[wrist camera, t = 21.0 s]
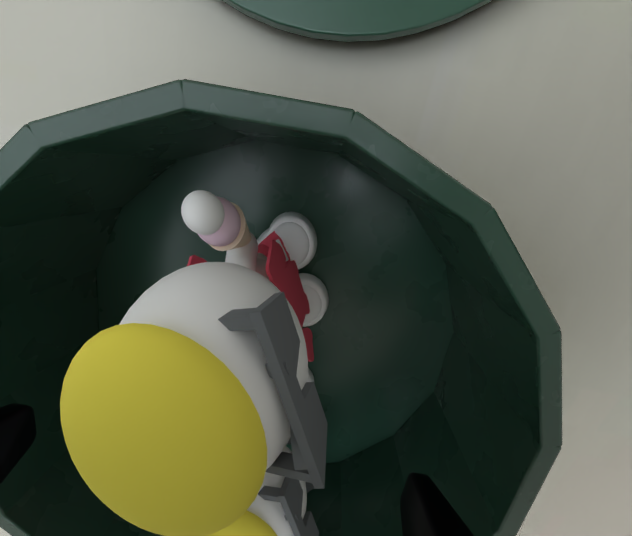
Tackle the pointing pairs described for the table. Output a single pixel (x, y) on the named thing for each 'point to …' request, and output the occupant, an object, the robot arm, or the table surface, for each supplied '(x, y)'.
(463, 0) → the lid
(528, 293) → the pot
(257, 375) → the toy figures
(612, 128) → the table surface
